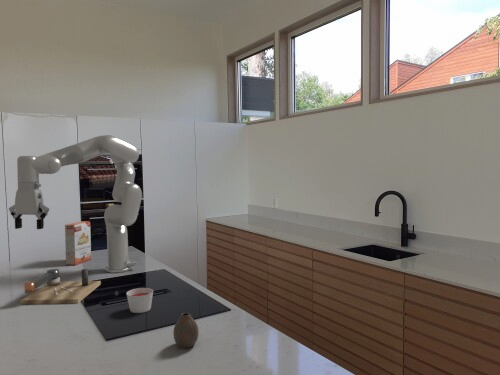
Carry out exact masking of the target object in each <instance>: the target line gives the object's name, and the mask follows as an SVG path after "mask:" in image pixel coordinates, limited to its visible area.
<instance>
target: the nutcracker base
mask: <svg viewBox="0 0 500 375" xmlns="http://www.w3.org/2000/svg"><path fill="white" fill-rule="evenodd" d="M88 271H89V270H88V268H83V269H81V280H80V281H79V280H78V281H74V280H73V281H61V277H60V276H59V277H58V278H55V279H51V280H50V281H48V282H46V283H45V284H44V285H42V287H40V288H37V289H36V290H35V291H34V292H31V293H29V294H28V295H26V296H25V297H23V298H22V299H20V302H19V303H20V305H45V304H46V305H47V304H48V305H49V304H50V305H52V304H54V305H57V304H58V305H59V304H79V303H80V302H81V301H82V300H84V299H85V298H86V297H88V296H89V295H90V294H91V293H92V292H93V291H95V290H96V289H97V288H98V287H99V286H101V284H102V282H101V280H92V281H91V280H89V272H88Z"/></svg>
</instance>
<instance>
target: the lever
mask: <svg viewBox="0 0 500 375" xmlns="http://www.w3.org/2000/svg"><path fill="white" fill-rule="evenodd" d="M58 277H60V269H59V268H51V269H48V270H46V272H45V273H44V274H42V275H40V276H38V277H37V278H35V279H32V280H31V281H27V282H24V284H23V285H24V293H25V294H32V293H33V292H35V291H36V290H37V289H39V287H41V286H44V285H45V284H47V282H48V281H50V280H51V279H55V278H58Z"/></svg>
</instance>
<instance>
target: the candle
mask: <svg viewBox="0 0 500 375" xmlns="http://www.w3.org/2000/svg"><path fill="white" fill-rule="evenodd" d="M153 295H154V289H152V288H148V287H138V288H133V289H130V290H128V291H126V298H127V302H128V306H129V311H130V312H131V313H134V314H142V313H146V312H147V313H148V312H149V311H150V310H151V308H152V303H153V302H152V301H153Z"/></svg>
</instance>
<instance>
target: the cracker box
mask: <svg viewBox="0 0 500 375" xmlns="http://www.w3.org/2000/svg"><path fill="white" fill-rule="evenodd" d="M64 234H65V237H64V239H65V241H64V242H65V246H64V247H65V266H77V265H79V264H81V263H84V262H88V261H89V260H92V251H91V250H92V241H91V238H92V236H91V235H92V234H91V221H89V220H88V221H86V220H85V221H84V220H83V221H82V220H81V221H77V222H73V223H68V224H65V225H64Z"/></svg>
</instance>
